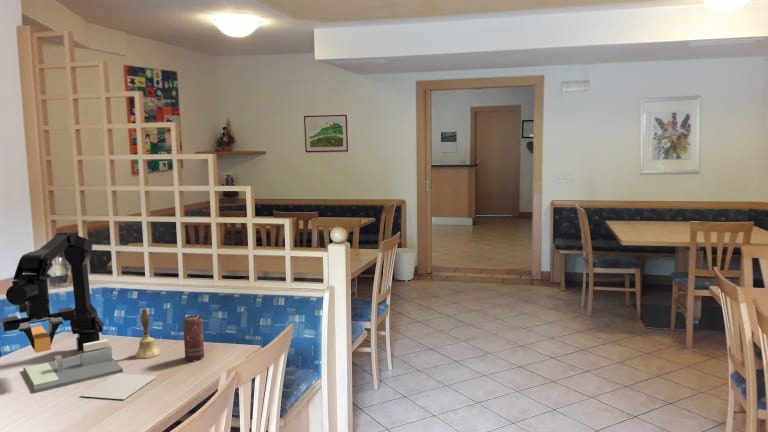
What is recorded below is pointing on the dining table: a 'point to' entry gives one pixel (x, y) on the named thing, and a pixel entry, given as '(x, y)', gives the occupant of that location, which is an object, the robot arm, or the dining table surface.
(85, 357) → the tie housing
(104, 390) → the paper stack
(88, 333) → the robot arm
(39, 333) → the orange block
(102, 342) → the cream bar
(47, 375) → the pad
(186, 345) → the can
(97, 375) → the slate board
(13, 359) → the dining table surface
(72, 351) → the dining table surface
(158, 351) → the hand bell
